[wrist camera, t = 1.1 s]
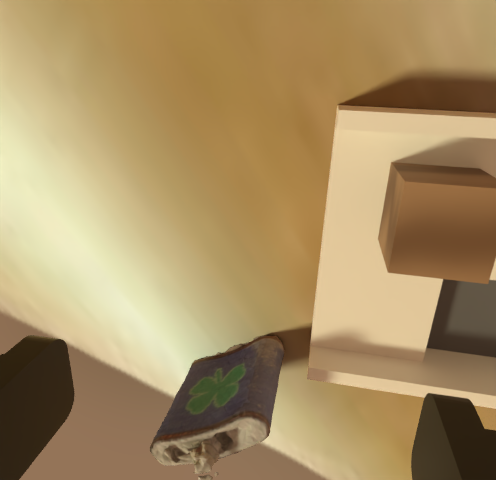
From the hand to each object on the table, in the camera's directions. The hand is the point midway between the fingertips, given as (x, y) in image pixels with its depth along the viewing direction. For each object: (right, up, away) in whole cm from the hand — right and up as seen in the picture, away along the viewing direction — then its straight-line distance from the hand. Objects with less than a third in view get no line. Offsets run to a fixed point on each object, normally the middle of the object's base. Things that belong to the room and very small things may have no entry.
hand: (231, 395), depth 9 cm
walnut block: (+11, +6, +16) cm, 20 cm away
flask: (-1, -7, +26) cm, 27 cm away
